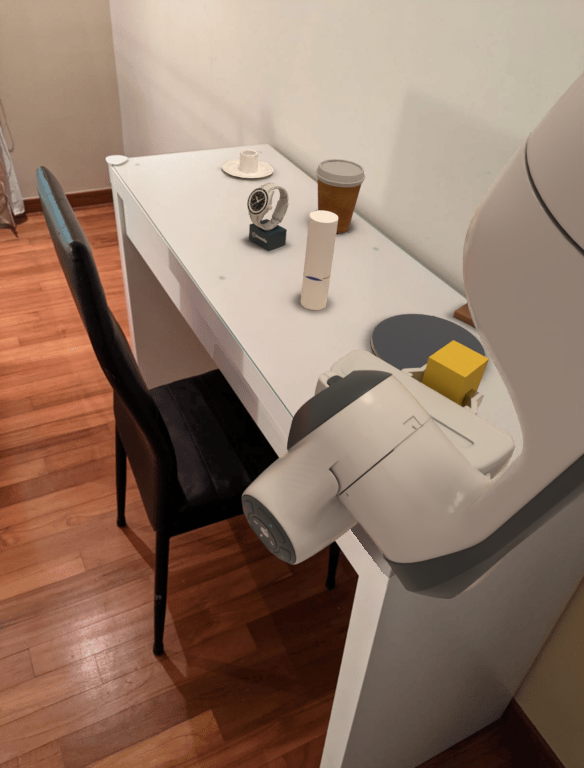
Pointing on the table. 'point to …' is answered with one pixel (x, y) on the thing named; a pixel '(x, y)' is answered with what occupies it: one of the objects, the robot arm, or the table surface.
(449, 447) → the robot arm
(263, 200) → the watch
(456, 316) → the brown rectangular block
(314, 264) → the tube
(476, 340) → the plate
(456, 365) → the sponge
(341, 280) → the table surface
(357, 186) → the disposable coffee cup
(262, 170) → the candle holder
